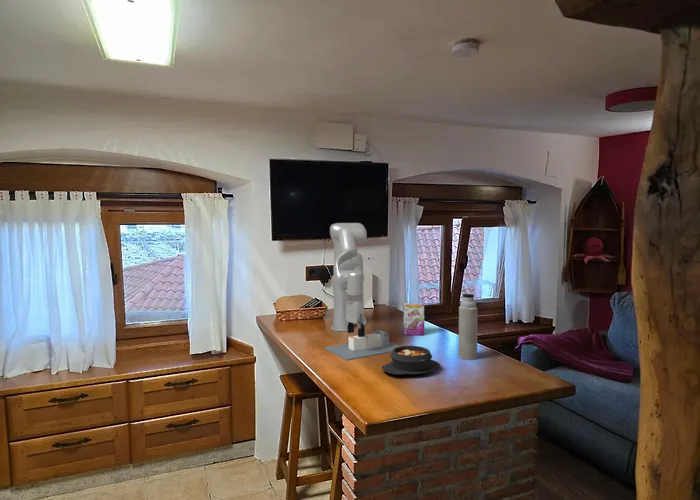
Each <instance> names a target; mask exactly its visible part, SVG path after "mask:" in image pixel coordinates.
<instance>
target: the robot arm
mask: <svg viewBox="0 0 700 500" xmlns="http://www.w3.org/2000/svg"><path fill="white" fill-rule="evenodd" d="M329 235H330V238H331V240H332V243H333V257H334V258H333V261H334V264H333V268H332V269H333V274H332V277H331V286H332V294H333V320H332V323H333V324H332V325H331V328H330V329H331V330H332V331H335V332H336V331H337V332H347V333H348V334H351V333H355V325H356V324H357V326H358V328H357V336H358V337H364V336H365V335H366V333H365V332H366V331H365V330H366V329H365V328H366V326H367V319H366V316H365V306H364V305H365V304H364V301H365V299H364V281H365V274H364V258H363V255H362V254H361V253H359V252H358V247H357V243H365V242H366V240H367V236H368V235H367V229H366V228H365V226H364V225H363V224H362V223H360V222H336V223H332V224H331V225H330V227H329Z"/></svg>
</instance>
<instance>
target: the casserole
mask: <svg viewBox="0 0 700 500" xmlns="http://www.w3.org/2000/svg"><path fill="white" fill-rule="evenodd" d="M399 346H400V347H396V348H394V349H393V351H392V352H390V355H389V356H390V358H391V361H390V362H389V363H386V364H384V365H382V366H381V370H382V371H384V372H386V373H388V374H390V375H391V374H392V375H396V376H398V375H399V376H400V375H406V376H407V375H408V376H410V375H411V376H418V375H424V374H427V373H429V372H432V371H433V370H435V369H438V368H440V367H441V363H440V362H438V361H436V360H434V359H432V358H433V355H432V354H431V351H430V349H428V348H426V347H423V346H418V345H403V346H402V345H399Z"/></svg>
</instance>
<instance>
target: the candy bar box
mask: <svg viewBox="0 0 700 500" xmlns="http://www.w3.org/2000/svg"><path fill="white" fill-rule="evenodd" d="M402 308H403V311H402V313H403V314H402V317H403V318H402V333H403V336H425V303H424V302H422V303H419V302H418V303H415V302H414V303H411V302H403V305H402Z"/></svg>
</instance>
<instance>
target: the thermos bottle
mask: <svg viewBox="0 0 700 500" xmlns="http://www.w3.org/2000/svg"><path fill="white" fill-rule="evenodd" d="M474 297H475V295H474V294H472V293H471V294H470V293H464V294H462V300H461V301H460V303H459V304H460V306H459V307H458V358H460V359H461V360H467V361H468V360H469V361H472V360H473V361H474V360H477V359H478V325H479V323H478V321H479V320H478V319H479V318H478V314H479V313H478V307H477V302H476V301H475V298H474Z"/></svg>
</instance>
